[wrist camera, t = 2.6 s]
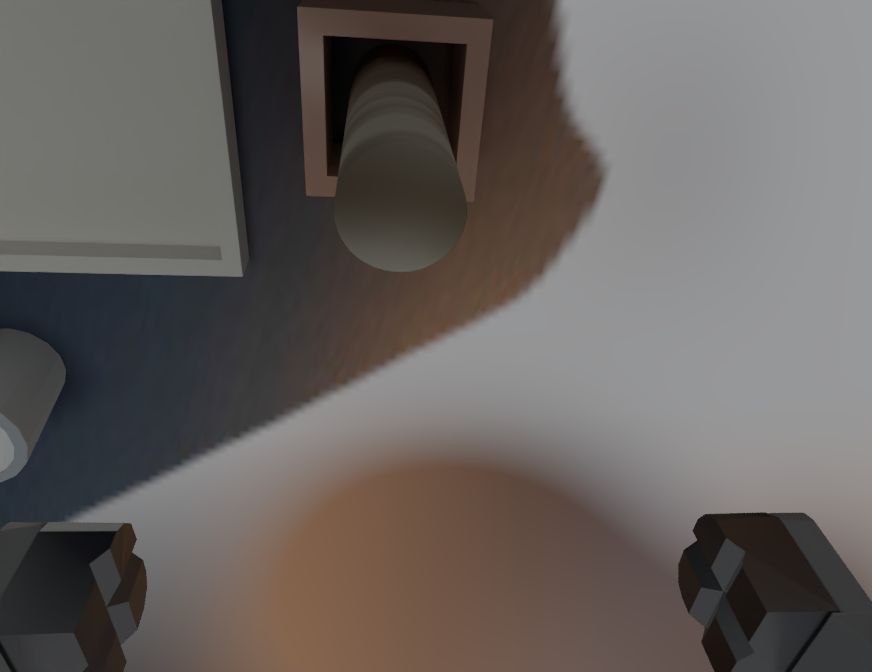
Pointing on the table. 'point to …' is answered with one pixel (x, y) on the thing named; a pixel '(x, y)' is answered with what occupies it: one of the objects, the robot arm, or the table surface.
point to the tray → (118, 139)
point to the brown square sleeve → (398, 20)
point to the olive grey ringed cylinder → (397, 167)
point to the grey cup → (25, 395)
